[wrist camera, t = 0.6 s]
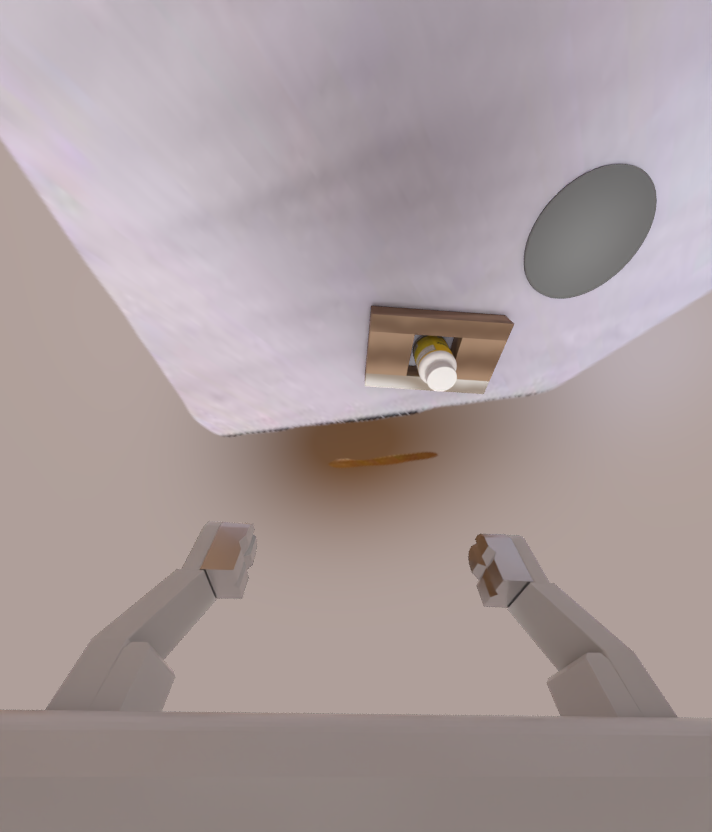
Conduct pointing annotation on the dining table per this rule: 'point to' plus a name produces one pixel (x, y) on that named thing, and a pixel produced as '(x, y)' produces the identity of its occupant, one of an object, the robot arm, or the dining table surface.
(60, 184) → the dining table surface
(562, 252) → the slate mat
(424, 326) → the walnut dispenser block
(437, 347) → the supplement bottle
